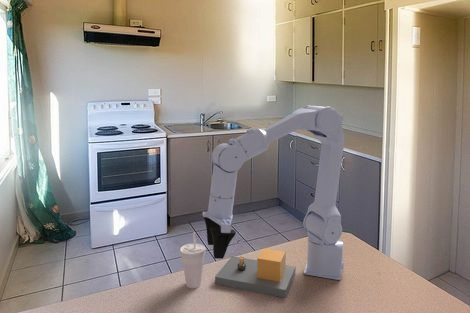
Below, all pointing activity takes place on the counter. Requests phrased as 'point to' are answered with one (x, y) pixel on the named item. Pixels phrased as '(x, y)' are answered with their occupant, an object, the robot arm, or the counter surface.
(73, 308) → the counter surface
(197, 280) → the smoothie
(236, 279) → the flat grey tile
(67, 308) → the counter surface
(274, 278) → the amber cube
